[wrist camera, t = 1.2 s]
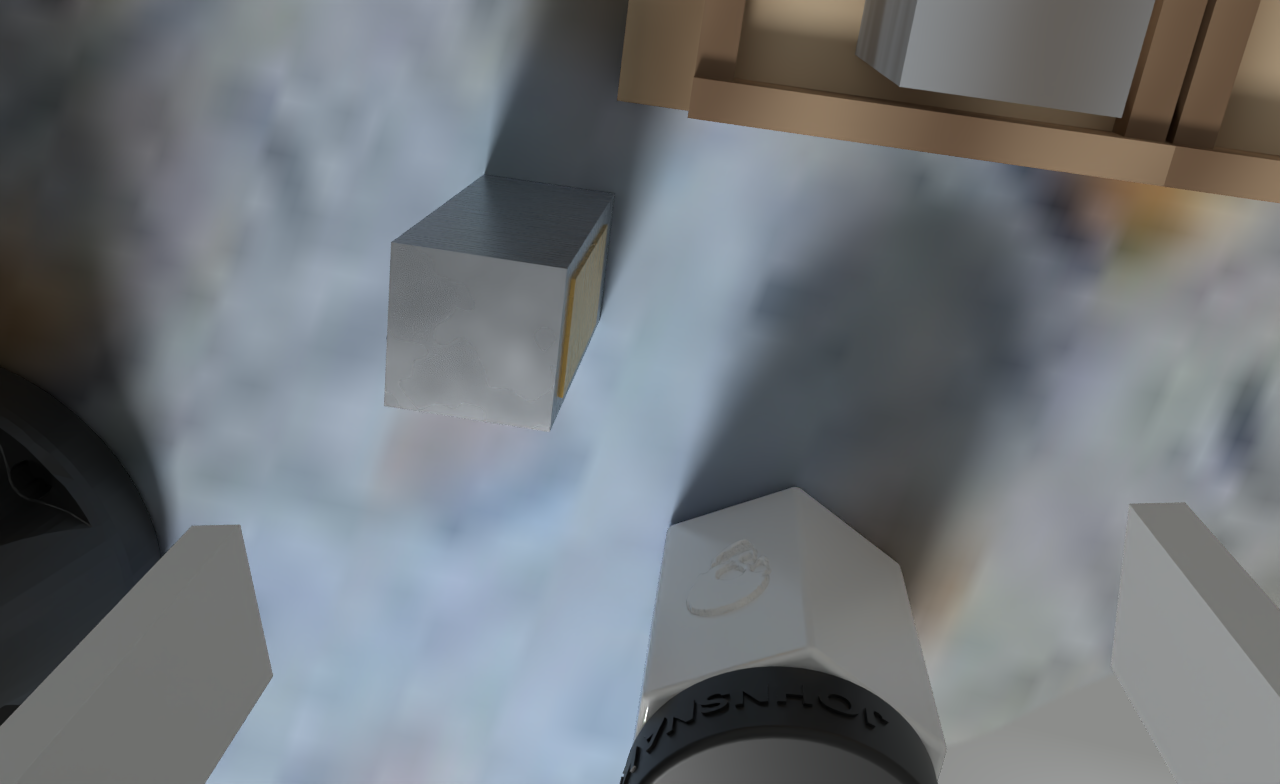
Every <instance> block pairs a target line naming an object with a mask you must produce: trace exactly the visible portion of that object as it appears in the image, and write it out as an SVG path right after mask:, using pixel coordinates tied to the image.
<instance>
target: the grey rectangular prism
mask: <svg viewBox="0 0 1280 784" xmlns="http://www.w3.org/2000/svg"><path fill="white" fill-rule="evenodd" d="M614 197H615V194H613V193H607V192H600V191H593V190H586V189H579V188H573V187H566V186H559V185H552V184H546V183H539V182H532V181H525V180H519V179H512V178H505V177H498V176H491V175H485V174H484V175H483V176H481V177H480V178H479V179H477V180H476V181H474V182H473V183H472V184H470V185H469V186H468V187H466V188H465V189H463V190H462V191H461V192H459V193H458V194H457V195H455V196H454V197H453V198H451V199H450V200H448V201H447V202H446V203H444V204H443V205H442V206H440V207H439V208H438V209H436V210H435V211H433V212H432V213H431V214H429V215H428V216H427V217H425V218H424V219H422V220H421V221H420V222H418V223H417V224H416V225H414V226H413V227H412V228H410V229H409V230H407V231H406V232H405V233H403V234H402V235H401V236H399V237H398V238H396V239H395V240H394V241H392V242H391V260H390V283H389V306H388V329H387V352H386V375H385V397H384V406H388V407H394V408H400V409H407V410H413V411H419V412H426V413H432V414H438V415H445V416H451V417H457V418H464V419H470V420H476V421H483V422H489V423H495V424H502V425H508V426H514V427H521V428H527V429H533V430H540V431H546V432H550V430H551V428H552V426H553V423H554V421H555V419H556V417H557V414H558V412H559V410H560V408H561V405H562V403H563V401H564V399H565V397H566V394H567V392H568V390H569V388H570V385H571V383H572V381H573V379H574V376H575V374H576V372H577V370H578V367H579V365H580V363H581V361H582V358H583V356H584V354H585V352H586V349H587V347H588V345H589V343H590V340H591V338H592V336H593V334H594V332H595V329H596V327H597V325H598V323H599V320H600V313H601V305H602V297H603V288H604V280H605V272H606V263H607V255H608V247H609V238H610V230H611V222H612V213H613V205H614Z"/></svg>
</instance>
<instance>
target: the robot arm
mask: <svg viewBox="0 0 1280 784" xmlns="http://www.w3.org/2000/svg"><path fill="white" fill-rule="evenodd" d="M1111 668H1112V670H1113V672H1114V673H1115V675H1116V677H1117V679H1118V680H1119V682H1120V684H1121V686H1122V687H1123V689H1124V691H1125V693H1126V694H1127V696H1128V698H1129V700H1130V701H1131V703H1132V705H1133V707H1134V708H1135V710H1136V712H1137V714H1138V715H1139V717H1140V719H1141V721H1142V723H1143V724H1144V726H1145V728H1146V730H1147V731H1148V733H1149V735H1150V737H1151V738H1152V740H1153V742H1154V744H1155V745H1156V747H1157V749H1158V750H1159V752H1160V754H1161V756H1162V758H1163V759H1164V761H1165V763H1166V765H1167V767H1168V768H1169V770H1170V772H1171V774H1172V775H1173V777H1174V779H1175V781H1176V782H1177V784H1280V609H1279V608H1278V607H1277V606H1276V605H1275V604H1274V602H1273V601H1272V600H1271V599H1270V598H1269V597H1268V596H1267V595H1266V593H1265V592H1264V591H1263V590H1262V589H1261V588H1260V587H1259V586H1258V584H1257V583H1256V582H1255V581H1254V580H1253V579H1252V578H1251V576H1250V575H1249V574H1248V573H1247V572H1246V571H1245V570H1244V569H1243V567H1242V566H1241V565H1240V564H1239V563H1238V562H1237V561H1236V560H1235V558H1234V557H1233V556H1232V555H1231V554H1230V553H1229V552H1228V551H1227V549H1226V548H1225V547H1224V546H1223V545H1222V544H1221V543H1220V542H1219V540H1218V539H1217V538H1216V537H1215V536H1214V535H1213V534H1212V532H1211V531H1210V530H1209V529H1208V528H1207V527H1206V526H1205V525H1204V523H1203V522H1202V521H1201V520H1200V519H1199V518H1198V517H1197V516H1196V514H1195V513H1194V512H1193V511H1192V510H1191V509H1190V508H1189V507H1188V505H1187V504H1186V503H1143V504H1129V509H1128V518H1127V527H1126V536H1125V545H1124V554H1123V562H1122V571H1121V580H1120V589H1119V598H1118V607H1117V616H1116V625H1115V634H1114V643H1113V652H1112V661H1111ZM272 677H273V673H272V669H271V664H270V660H269V655H268V651H267V646H266V641H265V637H264V632H263V628H262V623H261V618H260V614H259V609H258V605H257V600H256V595H255V591H254V586H253V582H252V577H251V572H250V568H249V563H248V559H247V554H246V549H245V545H244V540H243V536H242V531H241V526H240V525H206V526H191V527H190V528H189V529H188V530H187V532H186V533H185V534H184V535H183V536H182V537H181V538H180V539H179V540H178V541H177V542H176V543H175V544H174V545H173V546H172V547H171V548H170V549H169V550H168V551H167V552H166V553H165V555H164V556H163V557H162V558H161V555H160V549H159V545H158V541H157V537H156V534H155V530H154V527H153V524H152V521H151V519H150V516H149V514H148V511H147V509H146V507H145V505H144V503H143V501H142V498H141V496H140V494H139V493H138V491H137V489H136V487H135V486H134V484H133V482H132V480H131V479H130V477H129V476H128V474H127V473H126V471H125V470H124V468H123V467H122V465H121V464H120V462H119V461H118V460H117V458H116V457H115V456H114V454H113V453H112V452H111V451H110V450H109V448H108V447H107V446H106V445H105V444H104V442H103V441H102V440H101V439H100V438H99V437H98V436H97V435H96V434H95V433H94V432H93V431H92V430H91V429H90V428H89V427H88V426H87V425H86V424H85V423H84V422H83V421H82V420H81V419H80V418H79V417H78V416H76V415H75V414H74V413H73V412H72V411H70V410H69V409H68V408H67V407H66V406H64V405H63V404H62V403H60V402H59V401H58V400H56V399H55V398H53V397H52V396H51V395H49V394H48V393H46V392H45V391H43V390H42V389H40V388H39V387H37V386H35V385H34V384H32V383H30V382H29V381H27V380H25V379H23V378H21V377H20V376H18V375H16V374H14V373H12V372H9V371H7V370H5V369H3V368H1V367H0V784H205V783H206V781H207V779H208V778H209V776H210V775H211V773H212V771H213V770H214V768H215V767H216V765H217V764H218V762H219V760H220V759H221V757H222V756H223V754H224V753H225V751H226V749H227V748H228V746H229V745H230V743H231V742H232V740H233V738H234V737H235V735H236V734H237V732H238V731H239V729H240V727H241V726H242V724H243V723H244V721H245V720H246V718H247V716H248V715H249V713H250V712H251V710H252V708H253V707H254V705H255V704H256V702H257V701H258V699H259V697H260V696H261V694H262V693H263V691H264V690H265V688H266V686H267V685H268V683H269V682H270V680H271V679H272Z"/></svg>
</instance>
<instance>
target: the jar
mask: <svg viewBox="0 0 1280 784" xmlns="http://www.w3.org/2000/svg"><path fill="white" fill-rule="evenodd" d="M946 750H947V747H946V743H945V739H944V735H943V731H942V727H941V723H940V720H939V716H938V712H937V708H936V704H935V700H934V696H933V692H932V688H931V684H930V680H929V676H928V672H927V669H926V665H925V661H924V657H923V653H922V649H921V645H920V641H919V637H918V633H917V629H916V625H915V621H914V617H913V613H912V610H911V606H910V602H909V598H908V594H907V590H906V586H905V582H904V578H903V574H902V570H901V567H900V565H899V564H898V563H897V562H896V561H894V560H893V559H892V558H890V557H889V556H888V555H887V554H885V553H884V552H883V551H881V550H880V549H879V548H877V547H876V546H875V545H874V544H872V543H871V542H870V541H868V540H867V539H866V538H864V537H863V536H862V535H861V534H859V533H858V532H857V531H855V530H854V529H853V528H851V527H850V526H849V525H848V524H846V523H845V522H844V521H842V520H841V519H840V518H838V517H837V516H836V515H835V514H833V513H832V512H831V511H829V510H828V509H827V508H825V507H824V506H823V505H822V504H820V503H819V502H818V501H816V500H815V499H814V498H812V497H811V496H810V495H808V494H807V493H806V492H805V491H803V490H802V489H800V488H798V487H791V488H788V489H785V490H782V491H779V492H775V493H772V494H769V495H766V496H763V497H760V498H756V499H753V500H750V501H747V502H744V503H741V504H737V505H734V506H731V507H728V508H725V509H722V510H718V511H715V512H712V513H709V514H706V515H703V516H699V517H696V518H693V519H690V520H687V521H684V522H680V523H677V524H674V525H672V526H670V527H669V528H668V530H667V533H666V539H665V545H664V551H663V557H662V563H661V569H660V575H659V581H658V587H657V593H656V599H655V605H654V611H653V617H652V623H651V629H650V635H649V641H648V648H647V654H646V661H645V667H644V674H643V680H642V686H641V693H640V699H639V706H638V712H637V719H636V725H635V732H634V738H633V745H632V748H631V750H630V753H629V756H628V759H627V762H626V766H625V768H624V771H623V774H624V777H621V781H620V784H938V782H937V781H938V778H939V775H940V772H941V768H942V765H943V762H944V758H945V755H946Z"/></svg>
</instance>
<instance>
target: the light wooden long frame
mask: <svg viewBox="0 0 1280 784" xmlns="http://www.w3.org/2000/svg"><path fill="white" fill-rule="evenodd" d="M617 101H624V102H631V103H638V104H645V105H652V106H659V107H666V108H673V109H680V110H687V111H689V112H688V118H692V119H699V120H706V121H713V122H720V123H727V124H734V125H741V126H748V127H755V128H762V129H769V130H776V131H783V132H790V133H797V134H803V135H810V136H817V137H824V138H831V139H838V140H845V141H852V142H859V143H866V144H873V145H880V146H887V147H894V148H901V149H908V150H914V151H921V152H928V153H935V154H942V155H949V156H956V157H963V158H970V159H977V160H984V161H991V162H998V163H1005V164H1012V165H1019V166H1025V167H1032V168H1039V169H1046V170H1053V171H1060V172H1067V173H1074V174H1081V175H1088V176H1095V177H1102V178H1109V179H1116V180H1123V181H1130V182H1136V183H1143V184H1150V185H1157V186H1164V187H1171V188H1178V189H1185V190H1192V191H1199V192H1206V193H1213V194H1220V195H1227V196H1234V197H1241V198H1247V199H1254V200H1261V201H1268V202H1275V203H1280V0H629V2H628V11H627V19H626V28H625V37H624V45H623V54H622V62H621V71H620V79H619V88H618V96H617Z"/></svg>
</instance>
